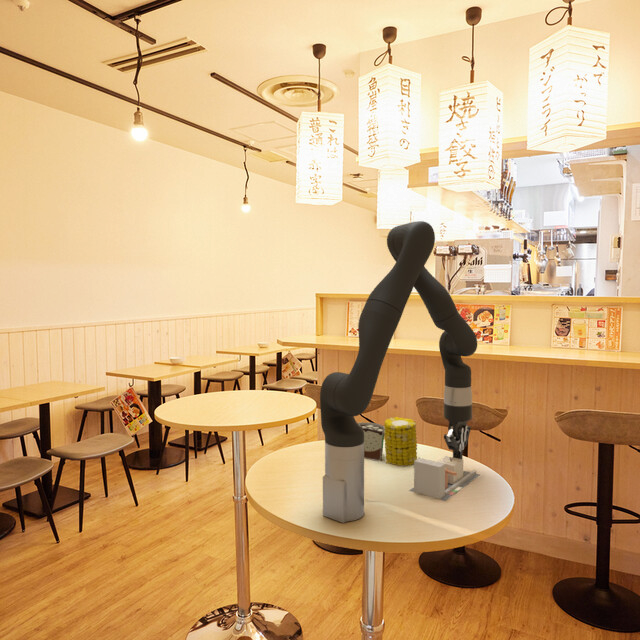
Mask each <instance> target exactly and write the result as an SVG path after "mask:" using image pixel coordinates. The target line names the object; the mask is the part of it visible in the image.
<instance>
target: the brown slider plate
mask: <svg viewBox="0 0 640 640" xmlns="http://www.w3.org/2000/svg"><path fill="white" fill-rule="evenodd" d="M448 474H451V475H455V476H456V475H457V473H456V472H452V471H448V469H446V468H445V489H447V488H448Z"/></svg>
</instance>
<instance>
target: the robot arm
mask: <svg viewBox="0 0 640 640" xmlns="http://www.w3.org/2000/svg"><path fill="white" fill-rule="evenodd" d="M435 241H436V235H435V230H434V228H433V226H432V225H431V224H430V223H428V222H426V221H424V220H421V221H419V220H418V221H412V222H407V223H404V224H400V225H396V226H395V227H394V226H393V228H392V229H390V231H389V232H388V233H387V236H386V246H387V249H388V252H389V254H390V255H391V257H392V258H393V259H394V261H395V264H394V265H393V266H392V268H391V269H390V271H389V272H388V273H387V274H386V275H385V276H384V277H383V278H382V279H381V281H379V283H378V284H377V285H376V286H375V287H374V288H373V290H372V291H371V292H370V293H369V295H368V297H367V299H366V301H365V304H364V306H363V309H362V310H361V313H360V316H359V318H358V327H357V329H358V351H357V356H356V358H355V361H354V364H353V366H352V368H351V370H350V371H349V373H345V372H340V371H335V372H331V373H329V374H328V375H327V376H326V377H325V378H324V380H323V381H322V384H321V386H320V391H319V392H320V393H319V406H320V423H321V429H322V432H323V433H324V475H322V516H323V517H326V518H328V519H332V520H334V521H337V522H340V523H342V524H344V523H346V522H352V521H356V520H359V519H361V518H362V517H363V516H364V515H365V458H364V431H363V429H362V428H361V427H360V426H359V425H358V423H359V422H357V421H356V419H355V417H357V416H360V415H362V414H363V413H364V412H365V411H366V409H367V408H368V407H369V405H370V403H371V401H372V398H373V395H374V391H375V388H376V386H377V382H378V378H379V374H380V371H381V368H382V365H383V363H384V359H385V357H386V354H387V352H388V349H389V347H390V344H391V341H392V339H393V336H394V335H395V333H396V330H397V328H398V325H399V323H400V321H401V318H402V316H403V314H404V310H405V308H406V305H407V303H408V301H409V298H410V296H411V294H412V292H413V290H415V291H416V292H417V293H418V295H419V297H420V298H421V300H422V302H423V304H424V306H425V308H426V310H427V312H428V314H429V316H430V319H431V320H432V322H433V323H434V325H435V326H436V328H437V329H440V330H442V331H443V332H442V334H441V335H440V337H439V342H438V347H439V348H438V349H439V354H440V357H441V361H442V365H443V369H444V389H443V417H444V419H445V420H447V421H448V427H447V430H448V432H447V433H445V434H443V440H444V442H445V444H446V446H447V448H448V450H451V451H452V457H453V458H458V459H462V460H464V458H463V451H464V449H465V447H467V445H468V441H469V438H470V435H471V434H470V433H471V431H472V430H471V429H472V427H471V426H469V425H468V422H470V421H471V420H472V419H473V390H472V369H471V367H470V365H468V364H467V363H465V362H464V361H463V360H462V357H471V356H472V355H474V354H475V352H476V351H477V349H478V338H477V335H476V333H475V332H474V330H473V328H472V327H471V325H469V324H468V322H467V321H466V319H465V318H463V316H462V315H461V314H460V313H459V311H458V308H457V306H456V304H455V302H454V300H453V298H452V296H451V294H450V293H449V291H448V290H447V289H446V287H445V286H444V285H443V284H442V283H441V282H440V281H439V280H438V279H436V278H435V276H433V275H432V274H431V272H429V270H428V269H427V268H426V266H425V265H426V264H427V262H428V260H429V259H430V256H431V254H432V252H433V250H434V246H435Z"/></svg>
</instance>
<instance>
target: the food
mask: <svg viewBox="0 0 640 640" xmlns="http://www.w3.org/2000/svg"><path fill="white" fill-rule="evenodd" d="M383 426H384V428H385V437H384V449H385V464H392V465H395V466H400V467H401V466H412V465H414V461H415V460H417V459H418V456H417V455H418V452H417V450H418V445H417V442H418V440H417V427H416V426H417V423H416V421H415V420H413V419H412V418H404V417H399V416H394V417H389V418H386V420H385V421H384V425H383Z"/></svg>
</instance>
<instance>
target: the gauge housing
mask: <svg viewBox="0 0 640 640" xmlns="http://www.w3.org/2000/svg"><path fill="white" fill-rule="evenodd" d="M436 462H440V463H444V464H445V468H446V469H448V471H452V472H456V473H457V475H456V476H455V475H451V474H448V483H450V484H455V483H456V482H458V481H459V480H460V479H462V478H463V471H464V459H458V458H453V456H448V455H445V456H444V457H442V458H441V459H438V460H437V461H436Z"/></svg>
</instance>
